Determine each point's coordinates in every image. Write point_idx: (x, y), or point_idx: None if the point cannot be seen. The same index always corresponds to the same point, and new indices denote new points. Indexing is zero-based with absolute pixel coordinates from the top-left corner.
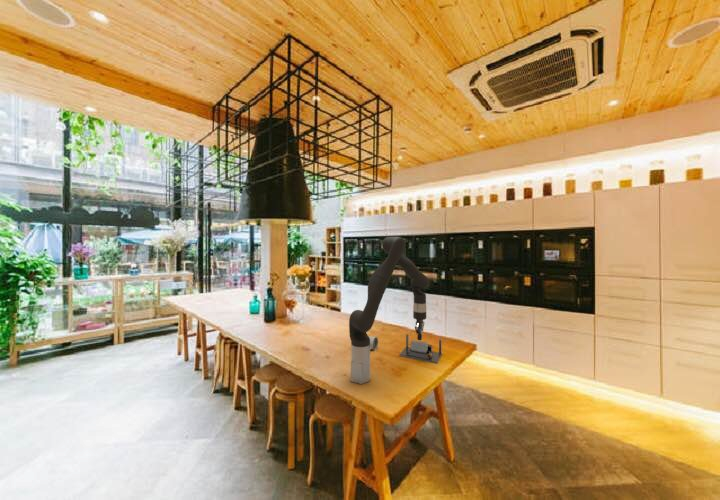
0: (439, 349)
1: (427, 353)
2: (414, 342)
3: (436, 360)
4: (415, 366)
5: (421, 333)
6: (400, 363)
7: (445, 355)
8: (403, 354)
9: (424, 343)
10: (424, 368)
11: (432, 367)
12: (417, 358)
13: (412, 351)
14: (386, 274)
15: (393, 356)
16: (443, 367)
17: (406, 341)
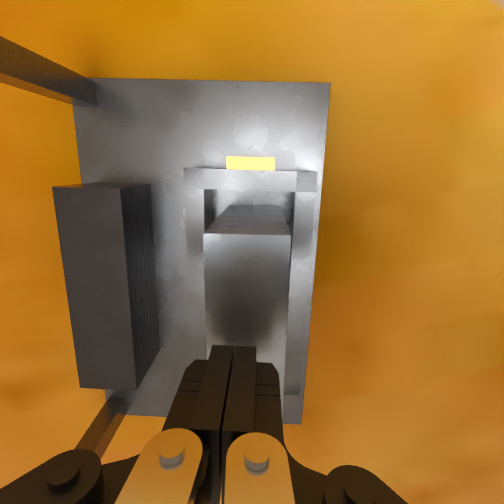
0: (71, 91)
1: (228, 208)
2: (281, 403)
3: (299, 97)
4: (456, 261)
5: (263, 445)
6: (435, 375)
7: (80, 39)
8: (289, 397)
9: (274, 270)
10: (475, 181)
11: (431, 115)
12: (312, 279)
13: (286, 351)
14: None
15: (324, 445)
16: (395, 5)
17: (100, 455)
